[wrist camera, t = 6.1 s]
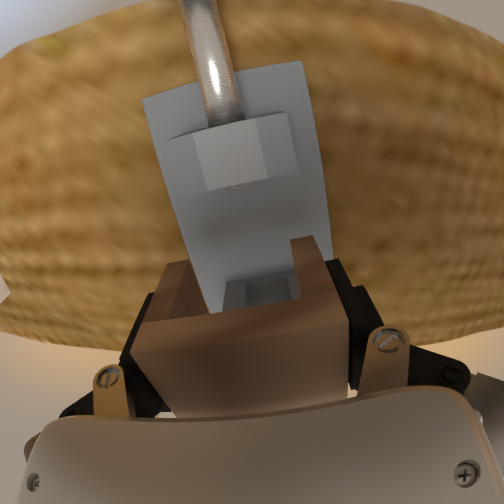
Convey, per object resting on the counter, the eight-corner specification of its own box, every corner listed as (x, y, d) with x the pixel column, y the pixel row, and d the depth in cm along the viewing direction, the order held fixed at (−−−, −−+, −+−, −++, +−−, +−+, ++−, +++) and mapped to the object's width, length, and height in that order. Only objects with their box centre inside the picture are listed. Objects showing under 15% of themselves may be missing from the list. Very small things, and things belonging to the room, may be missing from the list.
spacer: (313, 234, 12) (348, 320, 7) (321, 308, 14) (347, 399, 9) (167, 263, 13) (129, 352, 8) (195, 329, 15) (178, 419, 10)
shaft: (221, -45, 10) (216, -65, 8) (274, 170, 17) (278, 181, 15) (159, -28, 11) (145, -44, 8) (210, 184, 18) (203, 197, 15)
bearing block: (300, 61, 15) (315, 47, 11) (336, 318, 24) (348, 359, 20) (145, 99, 16) (112, 99, 12) (222, 337, 25) (217, 379, 21)
